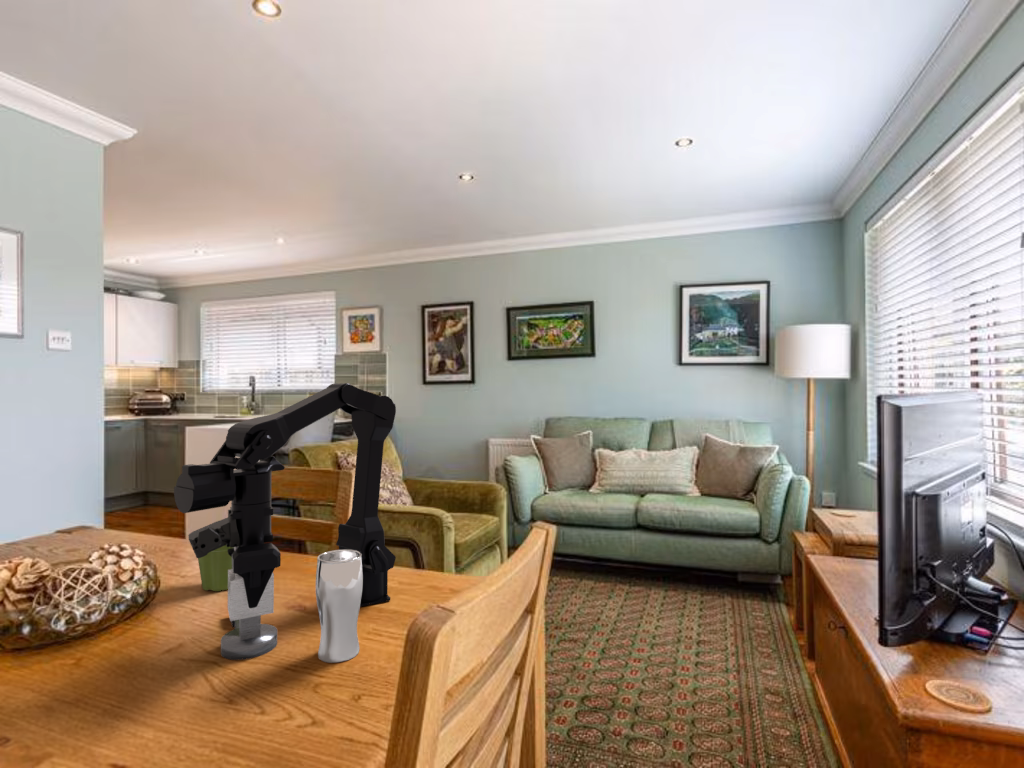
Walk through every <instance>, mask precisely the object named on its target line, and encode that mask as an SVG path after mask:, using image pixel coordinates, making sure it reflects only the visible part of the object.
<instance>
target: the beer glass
mask: <svg viewBox="0 0 1024 768" xmlns="http://www.w3.org/2000/svg"><path fill="white" fill-rule="evenodd" d="M316 560H317V562H316V571H315V597H316V598H315V599H316V605H317V611H318V617H319V622H320V623H319V624H320V640H319V641H320V642H319V646H318V647H319V648H318V653H317V658H318V659H319V660H321V661H322V662H324V663H328V664H329V663H331V664H333V663H334V664H335V663H343V662H346V661H349V660H352V659H353V658H355V657H356V656H357V655H358V654H359V652H360V642H359V637H358V619H359V614H360V608H361V607H360V604H361V598H362V590H363V568H362V553H361V552H359V551H356V550H347V549H346V550H339V549H335V550H334V549H333V550H329V551H326V552H323V553H320V554H319V555H318V556H317V559H316Z"/></svg>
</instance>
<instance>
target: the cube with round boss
mask: <svg viewBox="0 0 1024 768" xmlns="http://www.w3.org/2000/svg"><path fill="white" fill-rule="evenodd" d="M274 579H275V574H274V572H273V573H272V575H271V577H270V579H269V581H268V583H267V586H266V588H265V590H264V592H263V594H262V596H261V599H260V601H259V603H258V605H257V607H255V608H249V606H248V601H247V596H246V591H245V586H244V581H243V578H242V577H241V576H239V575H238V574H235V573H233V570H232V569H231V570H228V590H227V611H228V617H229V621H230V622H231V621H234V620H239V619H244V618H250V617H255V616H260V615H261V616H264V615H268V614H274V610H275V609H274V607H275V606H274V603H275V602H274V600H275V597H274V596H275V595H274V594H275V588H274V587H275V585H274V584H275V583H274V582H275V580H274Z"/></svg>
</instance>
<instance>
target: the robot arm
mask: <svg viewBox="0 0 1024 768" xmlns="http://www.w3.org/2000/svg"><path fill="white" fill-rule="evenodd" d="M396 407H397V406H396V403H395V402H394V401H393V400H392V398H391V397H390V396H387V395H378V394H376V393H372V392H370V391H366V390H364V389H360V388H358V387H356V386H354V385H352V384H350V383H348V382H347V383H346V382H344V383H343V382H341V383H338V382H336V383H331V384H330V385H328V386H327V387H326V388H324V389H321V390H319V391H318V392H316V393H314V394H312V395H309V396H308V397H306V398H303V399H302V400H300V401H297V402H296V403H294V404H292V405H290V406H287V407H286V408H284V409H282V410H280V411H277V412H275V413H272V414H267V415H262V416H258V417H253V418H251V419H245V420H243V421H239V422H236V423H234V424H233V425H232V426H230V427H229V429H228V430H227V433H226V437H225V441H224V442H223V444H222V445H221V446H220V447H219V449H218V450H217V452H216V453H215V454H214V456H213V457H212V459H211V460H210V461H209V463H204V464H203V463H202V464H192V463H191V464H183V465H182V467H181V473H180V475H178V478H177V480H176V484H175V486H174V487H173V495H174V502H175V505H176V507H177V509H178V511H180V512H181V513H182V514H188V513H193V512H198V511H199V512H200V511H206V510H213V509H216V508H217V509H218V508H222V507H226V506H228V505H229V503H230V502H231V506H230V508H229V509H228V510H227V517H226V518H225V517H224V518H223V519H220V520H217V521H214V522H212V523H210V524H207V525H205V526H203V527H201V528H198V529H196V530H193V531H192V532H190V533H188V541H189V544H190V546H191V548H192V550H193V553H194V555H195V557H196V559H198V558H201V557H204V556H206V555H207V554H208V553H209V552H211V551H214V550H216V549H218V548H220V547H223V546H225V545H226V547H230V548H231V547H233V548H231V549H228V550H227V551H228V554H229V555H230V556H231V557H232V570H233V573H235V574H238V575H239V576H241V577H242V578H243V581H244V586H245V591H246V596H247V601H248V606H249V608H255V607H257V605H258V603H259V601H260V599H261V596H262V594H263V592H264V590H265V588H266V586H267V583H268V581H269V579H270V577H271V575H272V573H274V571H275V569H277V568H279V567H281V557H282V556H281V551H280V549H278V547H277V546H276V545H275V544H273V543H272V542H274V535H273V533H272V516H274V508H273V506H272V472H277V471H278V472H279V471H283V470H285V468H286V467H285V466H284V464H282V463H281V462H280V461H278V460H277V458H276V457H275V456H273V455H275V454H276V453H277V452H278V451H280V450H281V449H282V448H284V447H285V446H286V445H287V443H288V441H289V440H290V438H291V437H292V436H294V435H295V434H296V433H298V432H299V431H301V430H303V429H305V428H307V427H308V426H310V425H312V424H315V423H317V422H318V421H320V420H321V419H323V418H325V417H326V416H328V415H330V414H332V413H334V412H336V411H338V410H340V411H342V412H343V413H345V414H347V415H350V416H351V426H352V429H353V432H354V433H355V436H356V438H357V449H356V458H355V470H354V481H353V482H354V483H353V491H352V492H353V493H352V504H351V513H350V516H349V518H347V520H346V523H339V525H338V528H337V530H338V531H337V532H338V538H337V541H336V544H335V545H336V546H337V547H338V550H346V549H347V550H356V551H359V552H361V553H362V568H363V590H362V598H361V604H360V608H361V607H365V606H369V605H374V604H375V605H376V604H380V603H383V602H389V601H391V596H390V595H389V594H388V589H389V588H388V585H389V584H388V581H389V579H388V577H389V575H388V574H389V570H391V569H393V568H394V566H395V562H396V557H397V556H396V555H395V554H394V553H393V552H392V551H391V550H390V549H389V548H388V547H387V546H385V530H384V528H383V526H382V525H383V524H382V523H381V520H380V518H379V502H380V492H381V491H380V490H381V479H382V469H383V468H382V466H383V455H384V445H385V440H386V439H387V437H388V436H389V434H390V433H391V431H392V430H393V428H394V423H395V418H396V413H397V412H396V411H397V408H396Z"/></svg>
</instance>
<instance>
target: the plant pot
mask: <svg viewBox="0 0 1024 768" xmlns="http://www.w3.org/2000/svg"><path fill="white" fill-rule="evenodd" d="M231 548H233V547H231ZM231 548H230V547H226V545H225V546H223V547H220V548H218V549H216V550H214V551H211V552H209V553H208V554H207V555H206V556H204V557H201V558H197V561H198V568H199V575H200V581H201V587H202V590H204V591H209V590H210V591H213V592H222V591H225V590H226V591H228V590H227V589H228V570H231V569H232V557H231V556H230V555H229V554H228V551H227V550H228V549H231ZM221 590H222V591H221Z"/></svg>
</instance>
